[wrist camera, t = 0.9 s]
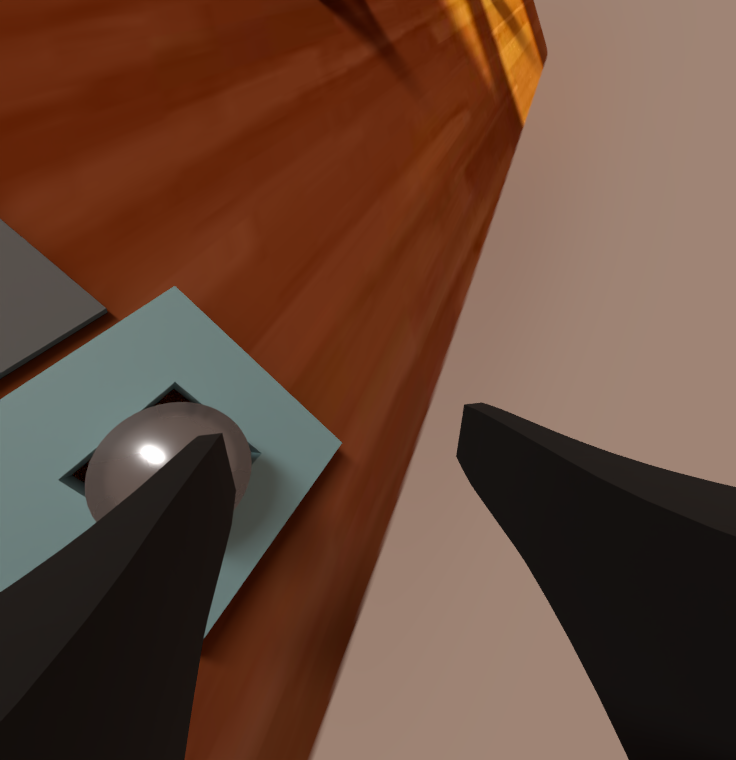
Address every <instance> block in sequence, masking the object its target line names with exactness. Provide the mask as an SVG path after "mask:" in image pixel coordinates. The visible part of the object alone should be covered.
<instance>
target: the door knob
mask: <svg viewBox="0 0 736 760" xmlns="http://www.w3.org/2000/svg"><path fill="white" fill-rule="evenodd" d="M217 433H222V434H223V438H224V442H225V446H226V450H227V455H228V459H229V463H230V467H231V471H232V475H233V480H234V484H235V488H236V495H235V503H234V510H235V508H236V507H237V506H238V504H239V503H240V501H241V499H242V497H243V496H244V494H245V491H246V489H247V487H248V483H249V480H250V475H251V465H252V460H251V452H250V448H249V444H248V442H247V439H246V437H245V435H244V434H243V432H242V430H241V429H240V428H239V427H238V425H237V424H236V423H235V422H234V421H233V420H232V419H231V418H229V417H228V416H227V415H225V414H224V413H222V412H220V411H218V410H217V409H214V408H212V407H209V406H206V405H202V404H198V403H191V402H173V403H165V404H160V405H156V406H153V407H149V408H146V409H144V410H142V411H139V412H137V413H135V414H133V415H132V416H130V417H128V418H126V419H125V420H124V421H122V422H121V423H119V424H118V425H117V426H116V427H114V428H113V429H112V430H111V431H110V432H109V433H108V434H107V435H106V436H105V438H104V439H103V440H102V441H101V442H100V444H99V445H98V447H97V448H96V450H95V452H94V453H93V456H92V458H91V460H90V462H89V465H88V468H87V472H86V477H85V497H86V501H87V506H88V508H89V510H90V513H91V515H92V517H93V518H94V520H95V521H96V522H97V521H99V520H100V519H101V518H102V517H104V516H105V515H106V514H107V513H108V512H110V511H111V510H112V509H113V508H115V507H116V506H117V505H118V504H119V503H121V502H122V501H123V500H124V499H126V498H127V497H128V496H129V495H131V494H132V493H133V492H134V491H135V490H137V489H138V488H139V487H140V486H141V485H142V484H143V483H145V482H146V481H147V480H148V479H149V478H150V477H151V476H153V475H154V474H155V473H156V472H157V471H158V470H159V469H161V468H162V467H163V466H164V465H165V464H166V463H167V462H168V461H170V460H171V459H172V458H173V457H174V456H175V455H176V454H177V453H178V452H180V451H181V450H182V449H183V448H184V447H185V446H186V445H187V444H189V443H190V442H191V441H192V440H193V439H195V438H196V437H197V436H200V435H209V434H217Z"/></svg>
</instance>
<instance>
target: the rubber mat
mask: <svg viewBox="0 0 736 760" xmlns="http://www.w3.org/2000/svg"><path fill="white" fill-rule="evenodd" d="M105 313H107V310H106V308H105V307H104V306H103V305H101V304H100V303H99V302H98V301H97V300H96V299H94V298H93V297H92V296H91V295H90V294H88V293H87V292H86V291H85V290H84V289H83V288H81V287H80V286H79V285H78V284H77V283H75V282H74V281H73V280H72V279H71V278H69V277H68V276H67V275H66V274H65V273H64V272H62V271H61V270H60V269H59V268H58V267H56V266H55V265H54V264H53V263H52V262H51V261H49V260H48V259H47V258H46V257H45V256H43V255H42V254H41V253H40V252H39V251H38V250H36V249H35V248H34V247H33V246H32V245H30V244H29V243H28V242H27V241H26V240H25V239H23V238H22V237H21V236H20V235H19V234H17V233H16V232H15V231H14V230H13V229H12V228H10V227H9V226H8V225H7V224H6V223H4V222H3V221H2V220H1V219H0V379H1V378H2V377H4V376H6V375H7V374H9V373H10V372H12V371H14V370H15V369H17V368H18V367H20V366H22V365H23V364H25V363H27V362H28V361H30V360H31V359H33V358H35V357H36V356H38V355H39V354H41V353H43V352H44V351H46V350H47V349H49V348H51V347H52V346H54V345H56V344H57V343H59V342H60V341H62V340H64V339H65V338H67V337H68V336H70V335H72V334H73V333H75V332H76V331H78V330H80V329H81V328H83V327H85V326H86V325H88V324H89V323H91V322H93V321H94V320H96V319H97V318H99V317H101V316H102V315H104V314H105Z"/></svg>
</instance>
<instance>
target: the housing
mask: <svg viewBox="0 0 736 760" xmlns="http://www.w3.org/2000/svg"><path fill="white" fill-rule="evenodd" d="M173 389H175V390H176V391H178V392H179V393H180V394H181V395H183V396H184V397H185V398H186V399H187V400H189V401H190V402H191V403H198V404H202V405H206V406H209V407H212V408H214V409H217V410H218V411H220V412H222V413H224V414H225V415H227V416H228V417H229V418H231V419H232V420H233V421H234V422H235V423H236V424H237V425H238V427H239V428H240V429H241V430H242V432H243V434H244V435H245V437H246V439H247V442H248V444H249V448H250V451H251V452H252V453H251V460H252V465H251V475H250V480H249V483H248V487H247V489H246V491H245V494H244V496H243V497H242V499H241V501H240V503H239V504H238V506H237V507H236V508H235V510H234V512H233V519H232V526H231V530H230V534H229V538H228V542H227V546H226V550H225V554H224V558H223V562H222V566H221V570H220V574H219V578H218V581H217V585H216V589H215V593H214V597H213V601H212V605H211V609H210V612H209V616H208V621H207V625H206V630H205V634H204V638H205V636H206V635H207V634H208V632H209V631H210V629H211V628H212V626H213V625H214V624H215V622H216V621H217V619H218V618H219V617H220V615H221V614H222V612H223V611H224V609H225V608H226V607H227V605H228V604H229V602H230V601H231V600H232V598H233V597H234V595H235V594H236V592H237V591H238V590H239V588H240V587H241V585H242V584H243V582H244V581H245V580H246V578H247V577H248V575H249V574H250V573H251V571H252V570H253V568H254V567H255V565H256V564H257V563H258V561H259V560H260V558H261V557H262V556H263V554H264V553H265V551H266V550H267V548H268V547H269V546H270V544H271V543H272V541H273V540H274V539H275V537H276V536H277V534H278V533H279V531H280V530H281V529H282V527H283V526H284V524H285V523H286V522H287V520H288V519H289V517H290V516H291V514H292V513H293V512H294V510H295V509H296V507H297V506H298V505H299V503H300V502H301V500H302V499H303V497H304V496H305V495H306V493H307V492H308V490H309V489H310V488H311V486H312V485H313V483H314V482H315V480H316V479H317V478H318V476H319V475H320V473H321V472H322V471H323V469H324V468H325V466H326V465H327V463H328V462H329V461H330V459H331V458H332V456H333V455H334V454H335V452H336V451H337V449H338V448H339V446H340V445H341V444H342V442H341V441H340V440H338V439H337V438H336V437H335V436H334V435H333V434H332V433H331V432H330V431H329V430H328V429H327V428H326V427H325V426H324V425H322V424H321V423H320V422H319V421H318V420H317V419H316V418H315V417H314V416H313V415H312V414H311V413H310V412H309V411H308V410H306V409H305V408H304V407H303V406H302V405H301V404H300V403H299V402H298V401H297V400H296V399H295V398H294V397H293V396H292V395H291V394H289V393H288V392H287V391H286V390H285V389H284V388H283V387H282V386H281V385H280V384H279V383H278V382H277V381H276V380H275V379H273V378H272V377H271V376H270V375H269V374H268V373H267V372H266V371H265V370H264V369H263V368H262V367H261V366H260V365H259V364H257V363H256V362H255V361H254V360H253V359H252V358H251V357H250V356H249V355H248V354H247V353H246V352H245V351H244V350H243V349H241V348H240V347H239V346H238V345H237V344H236V343H235V342H234V341H233V340H232V339H231V338H230V337H229V336H228V335H227V334H226V333H224V332H223V331H222V330H221V329H220V328H219V327H218V326H217V325H216V324H215V323H214V322H213V321H212V320H211V319H210V318H208V317H207V316H206V315H205V314H204V313H203V312H202V311H201V310H200V309H199V308H198V307H197V306H196V305H195V304H194V303H192V302H191V301H190V300H189V299H188V298H187V297H186V296H185V295H184V294H183V293H182V292H181V291H180V290H179V289H178V288H176V287H175V286H174V287H172V288H171V289H169V290H168V291H166V292H165V293H163V294H162V295H160V296H158V297H157V298H155V299H154V300H152V301H151V302H149V303H148V304H146V305H145V306H143V307H142V308H140V309H138V310H137V311H135V312H134V313H132V314H131V315H129V316H128V317H126V318H125V319H123V320H122V321H120V322H118V323H117V324H115V325H114V326H112V327H111V328H109V329H108V330H106V331H105V332H103V333H102V334H100V335H99V336H97V337H95V338H94V339H92V340H91V341H89V342H88V343H86V344H85V345H83V346H82V347H80V348H79V349H77V350H75V351H74V352H72V353H71V354H69V355H68V356H66V357H65V358H63V359H62V360H60V361H59V362H57V363H55V364H54V365H52V366H51V367H49V368H48V369H46V370H45V371H43V372H42V373H40V374H39V375H37V376H35V377H34V378H32V379H31V380H29V381H28V382H26V383H25V384H23V385H22V386H20V387H19V388H17V389H15V390H14V391H12V392H11V393H9V394H8V395H6V396H5V397H3V398H2V399H0V592H1V591H3V590H4V589H6V588H7V587H9V586H10V585H12V584H13V583H14V582H16V581H17V580H19V579H20V578H22V577H23V576H25V575H26V574H27V573H29V572H30V571H32V570H33V569H34V568H36V567H37V566H39V565H40V564H41V563H43V562H44V561H46V560H47V559H48V558H50V557H51V556H53V555H54V554H55V553H57V552H58V551H60V550H61V549H62V548H64V547H65V546H66V545H68V544H69V543H70V542H72V541H73V540H74V539H76V538H77V537H78V536H80V535H81V534H82V533H83V532H85V531H86V530H87V529H89V528H90V527H91V526H92V525H94V524H95V523H96V521H95V520H94V518H93V517H92V515H91V513H90V510H89V508H88V506H87V501H86V497H85V483H84V482H82V481H81V480H79V479H77V478H76V477H74V476H73V474H74V473H75V472H76V471H77V470H78V469H80V468H81V467H82V466H83V465H84V464H86V463H87V462H88V461H89V460H90V459H91V458H92V456H93V453H94V452H95V450H96V448H97V447H98V445H99V444H100V442H101V441H102V440H103V439H104V438H105V436H106V435H107V434H108V433H109V432H110V431H111V430H112V429H113V428H114V427H116V426H117V425H118V424H119V423H121V422H122V421H124V420H125V419H126V418H128V417H130V416H132V415H133V414H135V413H137V412H139V411H142V410H144V409H146V408H149V407H153V406H154V405H155V404H156V403H157V402H159V401H160V400H161V399H162V398H163V397H164V396H166V395H167V394H168V393H169V392H170V391H172V390H173Z"/></svg>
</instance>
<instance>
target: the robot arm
mask: <svg viewBox="0 0 736 760" xmlns="http://www.w3.org/2000/svg"><path fill="white" fill-rule="evenodd" d="M456 457H457V459H458V461H459V463H460V465H461V467H462V469H463V471H464V473H465V475H466V476H467V478H468V480H469V482H470V484H471V485H472V487H473V488H474V490H475V491H476V492H477V494H478V495H479V497H480V498H481V500H482V501H483V502H484V504H485V505H486V507H487V508H488V509H489V511H490V512H491V513H492V515H493V516H494V518H495V519H496V521H497V522H498V523H499V525H500V526H501V528H502V529H503V530H504V532H505V533H506V535H507V536H508V537H509V539H510V540H511V542H512V543H513V544H514V546H515V547H516V549H517V550H518V552H519V553H520V555H521V556H522V558H523V559H524V561H525V562H526V564H527V566H528V567H529V569H530V571H531V572H532V574H533V576H534V578H535V579H536V581H537V582H538V584H539V586H540V588H541V589H542V591H543V593H544V595H545V596H546V598H547V600H548V601H549V603H550V605H551V607H552V609H553V611H554V612H555V614H556V616H557V618H558V620H559V621H560V623H561V625H562V627H563V629H564V631H565V632H566V634H567V636H568V638H569V640H570V642H571V643H572V645H573V647H574V649H575V651H576V653H577V655H578V657H579V659H580V661H581V663H582V665H583V667H584V669H585V670H586V673H587V675H588V676H589V678H590V680H591V682H592V684H593V686H594V688H595V690H596V692H597V694H598V696H599V698H600V700H601V702H602V704H603V706H604V708H605V711H606V712H607V715H608V717H609V719H610V721H611V723H612V725H613V727H614V729H615V731H616V734H617V736H618V738H619V740H620V742H621V744H622V746H623V748H624V750H625V752H626V754H627V757H628V759H629V760H736V487H733V486H728V485H724V484H719V483H715V482H712V481H707V480H704V479H700V478H696V477H692V476H688V475H684V474H680V473H677V472H673V471H669V470H666V469H662V468H659V467H655V466H652V465H648V464H645V463H642V462H639V461H636V460H632V459H629V458H626V457H623V456H620V455H616V454H614V453H611V452H608V451H605V450H602V449H599V448H597V447H594V446H591V445H589V444H586V443H583V442H580V441H578V440H575V439H572V438H570V437H567V436H564V435H562V434H560V433H557V432H555V431H552V430H550V429H547V428H545V427H543V426H540V425H538V424H535V423H533V422H531V421H528V420H526V419H523V418H521V417H519V416H516V415H514V414H512V413H509V412H507V411H504V410H502V409H499V408H496V407H493V406H491V405H488V404H484V403H475V404H466V405H464V410H463V417H462V423H461V429H460V436H459V442H458V448H457V455H456ZM235 495H236V488H235V484H234V480H233V475H232V471H231V467H230V463H229V459H228V455H227V450H226V446H225V442H224V438H223V434H222V433H217V434H209V435H200V436H197V437H196V438H195V439H193V440H192V441H191V442H190V443H189V444H187V445H186V446H185V447H184V448H183V449H182V450H181V451H180V452H178V453H177V454H176V455H175V456H174V457H173V458H172V459H171V460H170V461H168V462H167V463H166V464H165V465H164V466H163V467H162V468H161V469H159V470H158V471H157V472H156V473H155V474H154V475H153V476H151V477H150V478H149V479H148V480H147V481H146V482H145V483H143V484H142V485H141V486H140V487H139V488H138V489H137V490H135V491H134V492H133V493H132V494H131V495H129V496H128V497H127V498H126V499H124V500H123V501H122V502H121V503H119V504H118V505H117V506H116V507H115V508H113V509H112V510H111V511H110V512H108V513H107V514H106V515H105V516H104V517H102V518H101V519H100V520H99V521H97V522H96V523H95V524H94V525H92V526H91V527H90V528H89V529H87V530H86V531H85V532H83V533H82V534H81V535H80V536H78V537H77V538H76V539H74V540H73V541H72V542H70V543H69V544H68V545H66V546H65V547H64V548H62V549H61V550H60V551H58V552H57V553H55V554H54V555H53V556H51V557H50V558H48V559H47V560H46V561H44V562H43V563H41V564H40V565H39V566H37V567H36V568H34V569H33V570H32V571H30V572H29V573H27V574H26V575H25V576H23V577H22V578H20V579H19V580H17V581H16V582H14V583H13V584H12V585H10V586H9V587H7V588H6V589H4V590H3V591H1V592H0V760H184V758H185V751H186V744H187V738H188V731H189V725H190V718H191V711H192V705H193V698H194V692H195V686H196V680H197V674H198V668H199V662H200V656H201V650H202V644H203V639H204V634H205V630H206V625H207V621H208V616H209V612H210V609H211V605H212V601H213V597H214V593H215V589H216V585H217V581H218V578H219V574H220V570H221V566H222V562H223V558H224V554H225V550H226V546H227V542H228V538H229V534H230V530H231V526H232V519H233V512H234V503H235Z"/></svg>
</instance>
